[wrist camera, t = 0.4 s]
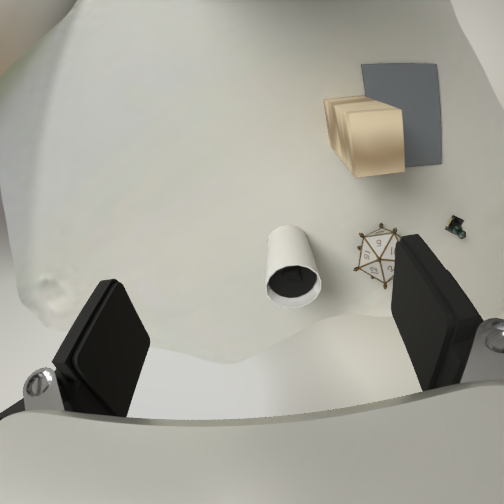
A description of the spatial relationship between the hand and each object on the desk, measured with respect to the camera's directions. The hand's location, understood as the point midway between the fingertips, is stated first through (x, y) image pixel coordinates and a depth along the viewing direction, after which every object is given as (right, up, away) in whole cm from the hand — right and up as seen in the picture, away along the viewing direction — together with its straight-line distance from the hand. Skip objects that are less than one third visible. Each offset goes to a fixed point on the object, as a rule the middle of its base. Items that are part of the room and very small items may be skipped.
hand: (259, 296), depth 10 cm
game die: (+18, +3, +35) cm, 39 cm away
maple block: (+11, +18, +26) cm, 33 cm away
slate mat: (+19, +19, +24) cm, 36 cm away
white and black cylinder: (+5, +3, +35) cm, 36 cm away
